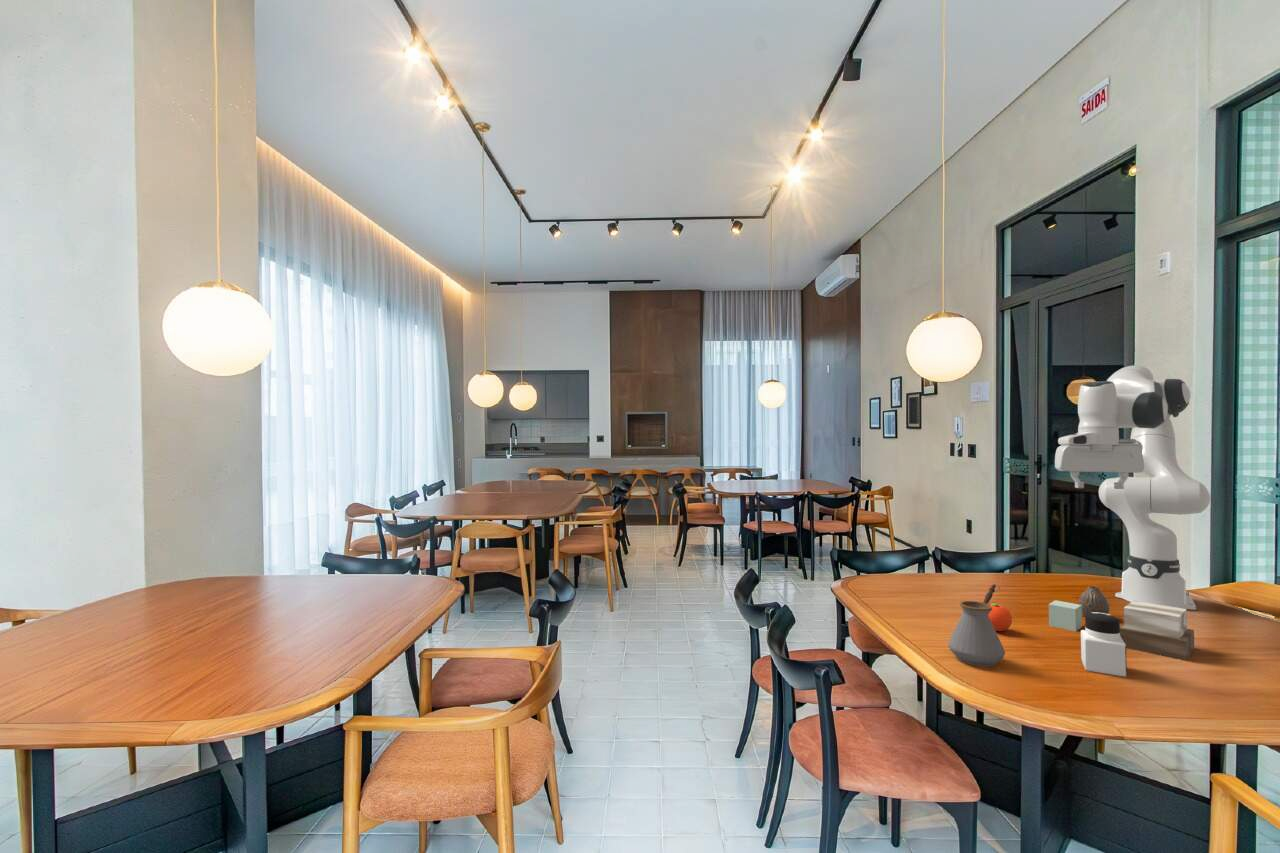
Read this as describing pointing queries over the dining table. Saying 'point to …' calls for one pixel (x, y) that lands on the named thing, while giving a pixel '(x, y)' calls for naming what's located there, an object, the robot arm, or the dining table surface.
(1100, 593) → the brown ridged oval lump
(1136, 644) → the tower base
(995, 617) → the clementine
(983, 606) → the coffee pot
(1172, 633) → the tower top
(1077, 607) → the sage cube
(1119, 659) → the medicine bottle
